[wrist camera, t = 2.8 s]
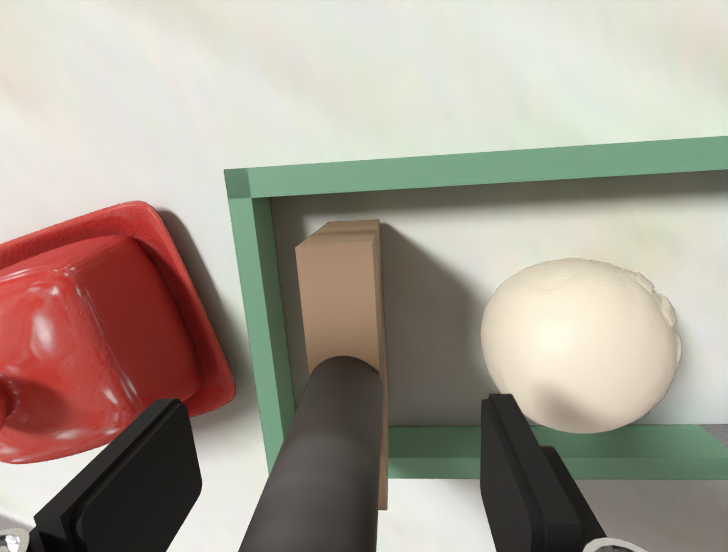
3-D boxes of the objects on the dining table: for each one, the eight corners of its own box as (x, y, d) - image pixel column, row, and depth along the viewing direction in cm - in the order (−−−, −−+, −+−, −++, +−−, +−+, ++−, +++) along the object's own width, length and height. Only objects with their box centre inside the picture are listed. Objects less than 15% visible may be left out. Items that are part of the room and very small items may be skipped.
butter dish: (166, 189, 19) (-3, 201, 11) (253, 390, 22) (168, 523, 14) (-22, 255, 21) (-292, 309, 13) (79, 435, 23) (-90, 577, 15)
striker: (326, 222, 18) (113, 381, 4) (381, 219, 18) (341, 378, 4) (342, 409, 21) (239, 885, 7) (391, 408, 21) (386, 899, 7)
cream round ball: (634, 351, 19) (755, 441, 13) (488, 390, 20) (532, 491, 14) (607, 222, 18) (728, 250, 11) (451, 271, 19) (481, 323, 12)
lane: (245, 170, 18) (223, 169, 16) (751, 136, 16) (809, 130, 14) (282, 445, 22) (269, 478, 20) (695, 444, 20) (734, 479, 18)
